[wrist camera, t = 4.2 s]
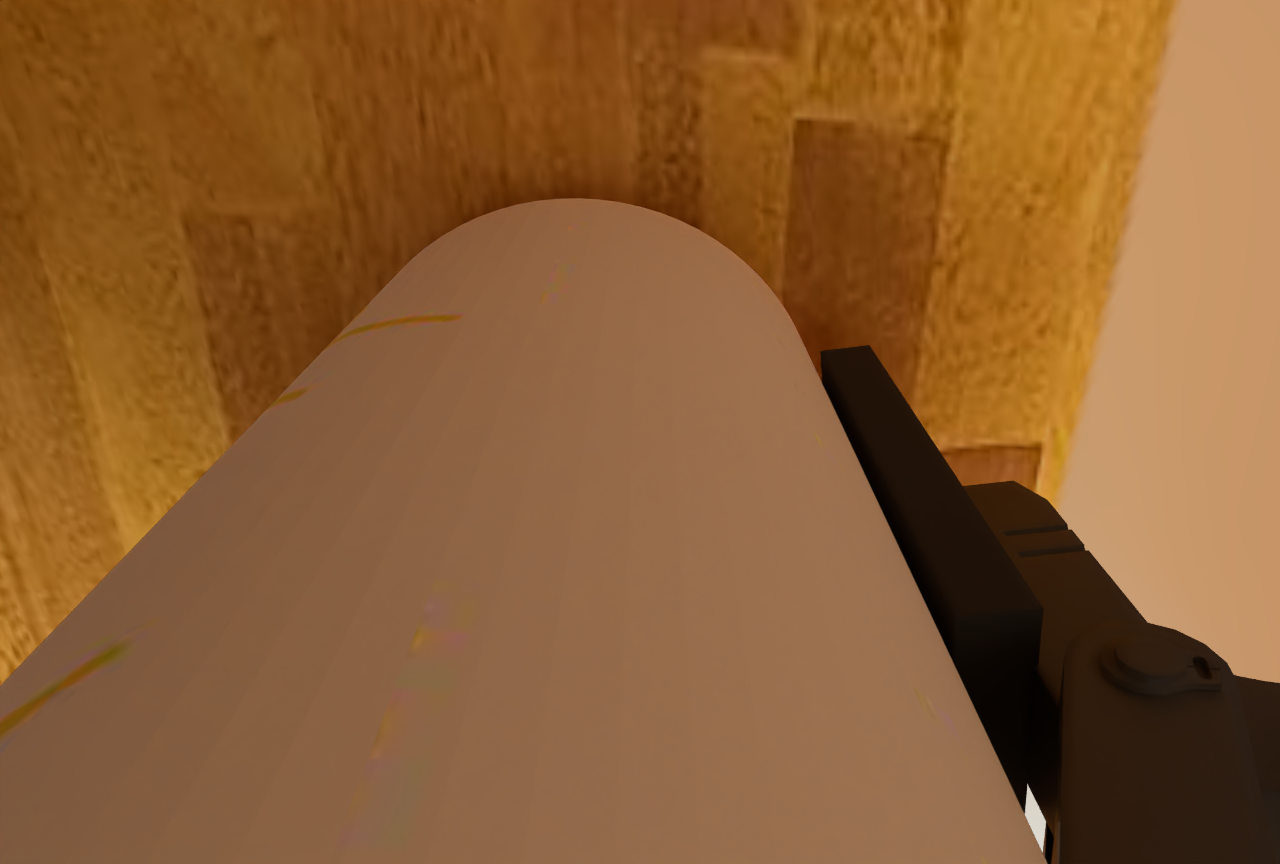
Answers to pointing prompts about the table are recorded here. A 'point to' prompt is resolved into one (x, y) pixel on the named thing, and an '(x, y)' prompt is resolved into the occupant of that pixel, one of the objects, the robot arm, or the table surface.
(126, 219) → the table surface
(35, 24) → the table surface
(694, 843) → the cup
